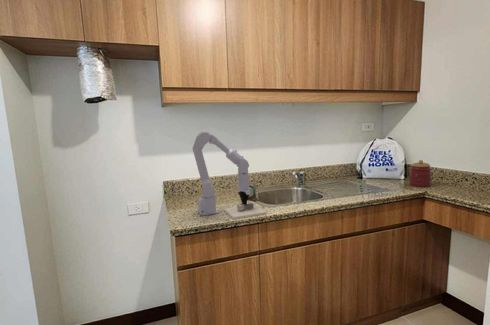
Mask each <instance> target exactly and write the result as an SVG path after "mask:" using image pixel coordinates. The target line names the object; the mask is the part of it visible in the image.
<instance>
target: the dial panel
mask: <svg viewBox="0 0 490 325" xmlns="http://www.w3.org/2000/svg"><path fill="white" fill-rule="evenodd" d="M253 205H254V208H252V209H245V210H244V211H238V209H237V206H233V207H227V208H223V211H224V212H225V214H227V215H228V216H229V218H231V220H233V221H234V220H238V219H239V220H240V219H244V218H245V219H246V218H252V217H257V216H262V215H263V216H264V215H267V211H265V210H264V209H263V208H261V207H259V206H257V205H256V204H255V203H253Z"/></svg>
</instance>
